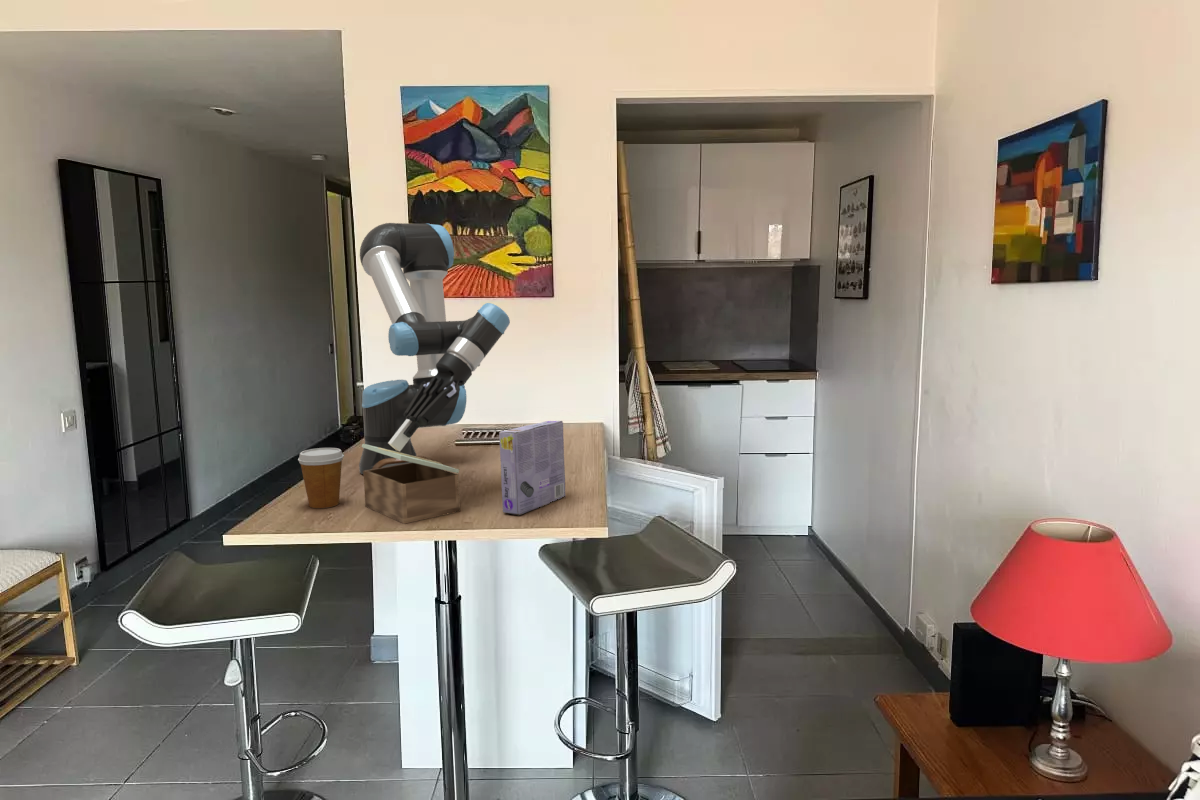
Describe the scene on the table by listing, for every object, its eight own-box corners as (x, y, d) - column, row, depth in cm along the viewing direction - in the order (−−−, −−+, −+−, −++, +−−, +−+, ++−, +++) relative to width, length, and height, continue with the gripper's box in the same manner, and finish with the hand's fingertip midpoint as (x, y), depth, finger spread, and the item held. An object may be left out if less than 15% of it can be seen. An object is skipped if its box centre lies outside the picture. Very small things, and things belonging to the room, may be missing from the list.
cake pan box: (551, 493, 182) (549, 417, 180) (569, 495, 180) (568, 419, 177) (499, 514, 166) (497, 431, 163) (519, 517, 163) (516, 433, 161)
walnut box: (365, 506, 173) (363, 470, 172) (418, 495, 182) (417, 461, 181) (403, 523, 160) (401, 485, 159) (459, 511, 168) (458, 474, 167)
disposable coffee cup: (311, 499, 180) (307, 447, 179) (352, 498, 180) (349, 447, 178) (294, 510, 171) (290, 456, 169) (337, 510, 171) (334, 455, 169)
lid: (361, 447, 171) (362, 442, 172) (417, 460, 181) (418, 456, 181) (400, 459, 158) (401, 454, 158) (458, 473, 167) (459, 468, 167)
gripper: (486, 375, 172) (420, 462, 164) (455, 371, 182) (391, 453, 174) (464, 353, 168) (395, 440, 160) (433, 350, 178) (367, 432, 169)
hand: (393, 447), depth 167 cm, fingers closed
